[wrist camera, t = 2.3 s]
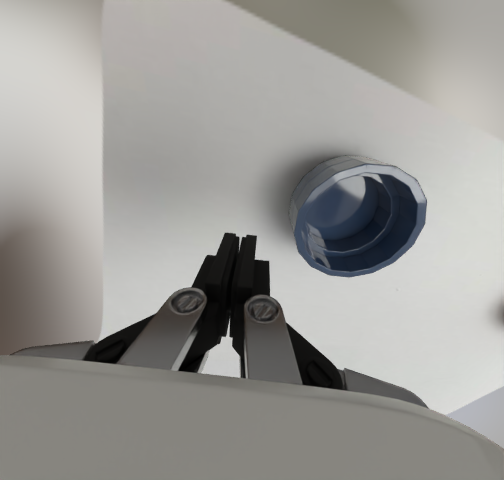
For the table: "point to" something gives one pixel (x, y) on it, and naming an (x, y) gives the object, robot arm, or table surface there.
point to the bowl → (356, 215)
